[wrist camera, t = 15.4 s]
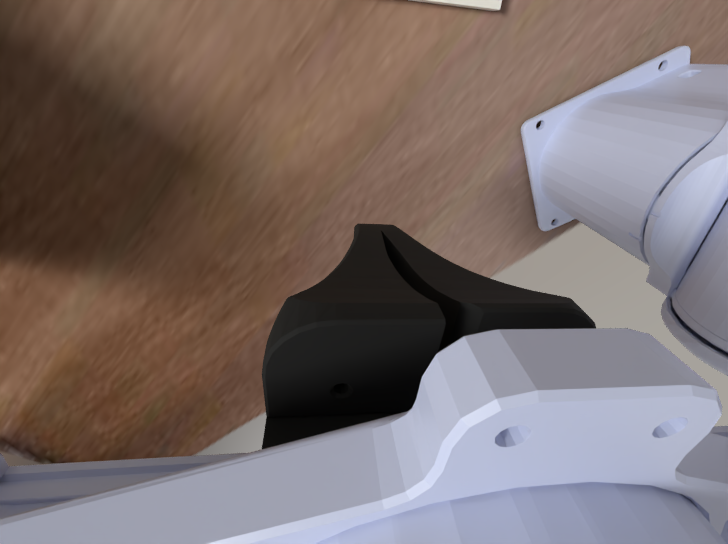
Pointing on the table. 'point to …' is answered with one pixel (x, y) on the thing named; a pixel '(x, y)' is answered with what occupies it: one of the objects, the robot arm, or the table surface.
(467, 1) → the board
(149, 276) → the table surface
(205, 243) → the table surface
